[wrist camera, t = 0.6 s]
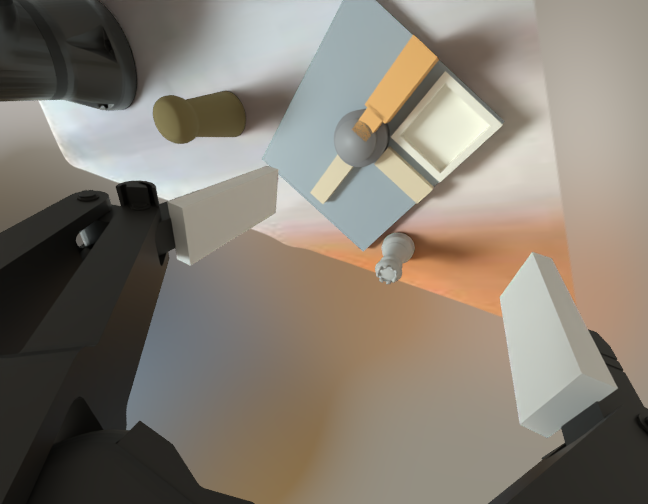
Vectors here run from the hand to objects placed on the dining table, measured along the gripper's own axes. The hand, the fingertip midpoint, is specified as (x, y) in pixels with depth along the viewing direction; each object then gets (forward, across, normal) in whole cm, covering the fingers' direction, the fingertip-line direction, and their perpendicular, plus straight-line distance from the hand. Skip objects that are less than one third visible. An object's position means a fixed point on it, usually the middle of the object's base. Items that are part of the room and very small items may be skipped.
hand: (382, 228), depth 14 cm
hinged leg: (+19, -6, +4) cm, 21 cm away
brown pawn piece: (+22, -29, -2) cm, 36 cm away
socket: (+21, +1, +3) cm, 21 cm away
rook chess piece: (+22, 0, -13) cm, 26 cm away
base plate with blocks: (+22, -8, -1) cm, 24 cm away
